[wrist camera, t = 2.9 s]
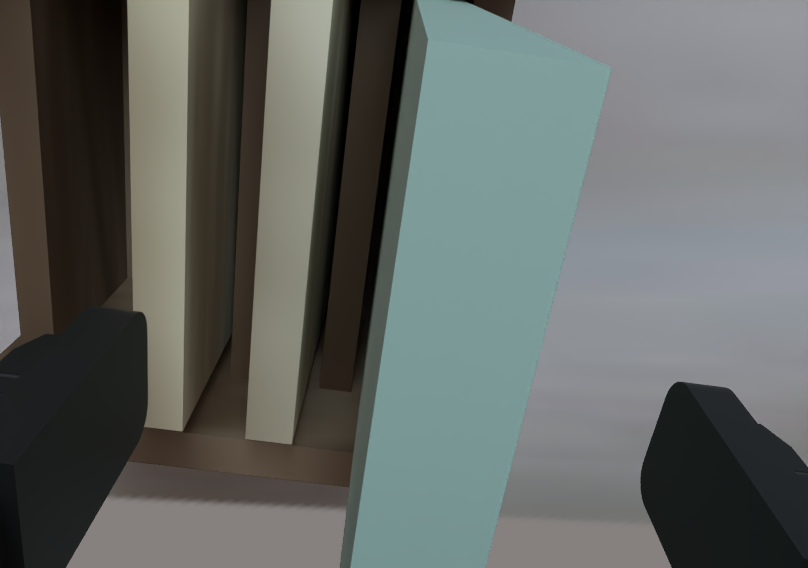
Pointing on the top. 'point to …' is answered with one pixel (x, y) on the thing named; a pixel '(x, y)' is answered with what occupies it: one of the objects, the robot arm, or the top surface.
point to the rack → (355, 234)
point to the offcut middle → (297, 202)
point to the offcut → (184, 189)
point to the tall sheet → (463, 279)
